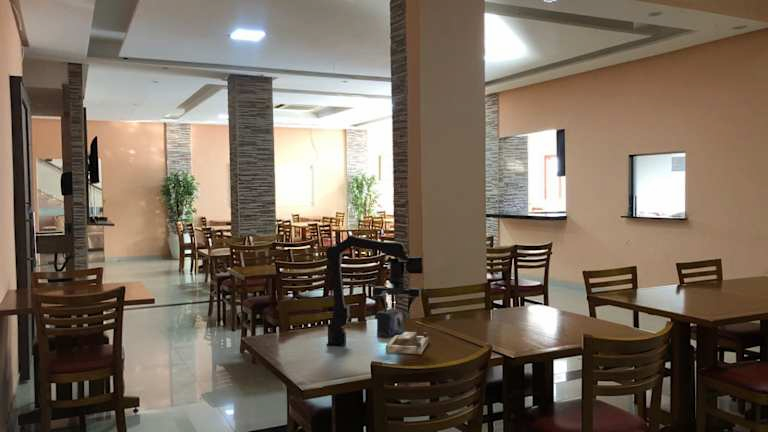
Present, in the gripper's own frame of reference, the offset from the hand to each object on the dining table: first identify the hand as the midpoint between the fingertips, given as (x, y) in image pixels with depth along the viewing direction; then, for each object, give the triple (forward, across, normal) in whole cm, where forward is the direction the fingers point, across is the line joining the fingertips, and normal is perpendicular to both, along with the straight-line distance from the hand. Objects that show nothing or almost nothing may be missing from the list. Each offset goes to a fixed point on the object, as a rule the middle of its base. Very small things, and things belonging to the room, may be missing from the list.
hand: (396, 312), depth 247 cm
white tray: (+12, +5, -4) cm, 14 cm away
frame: (+13, +5, -4) cm, 14 cm away
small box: (+13, -6, +16) cm, 21 cm away
